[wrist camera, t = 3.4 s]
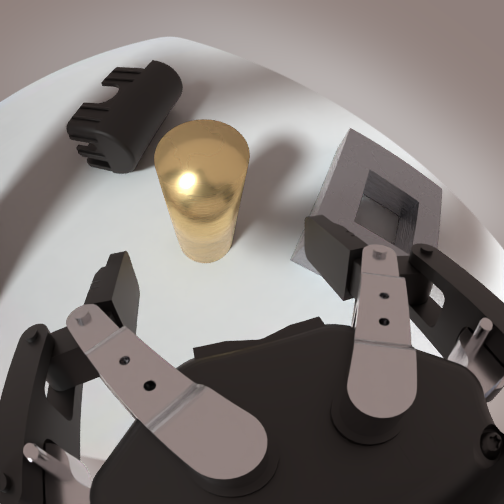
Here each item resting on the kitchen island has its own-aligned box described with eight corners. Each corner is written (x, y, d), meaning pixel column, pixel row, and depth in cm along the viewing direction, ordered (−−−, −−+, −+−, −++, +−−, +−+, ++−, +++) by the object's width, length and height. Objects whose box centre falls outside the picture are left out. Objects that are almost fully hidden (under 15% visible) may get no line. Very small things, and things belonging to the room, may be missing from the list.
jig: (290, 260, 23) (303, 246, 19) (337, 148, 27) (350, 127, 24) (400, 317, 22) (424, 312, 19) (423, 202, 27) (441, 188, 24)
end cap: (143, 184, 23) (124, 136, 17) (84, 169, 23) (58, 126, 16) (185, 110, 26) (182, 62, 20) (130, 102, 26) (120, 57, 20)
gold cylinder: (168, 247, 22) (135, 170, 11) (195, 204, 23) (187, 109, 13) (216, 272, 21) (220, 210, 11) (241, 226, 23) (264, 140, 13)
